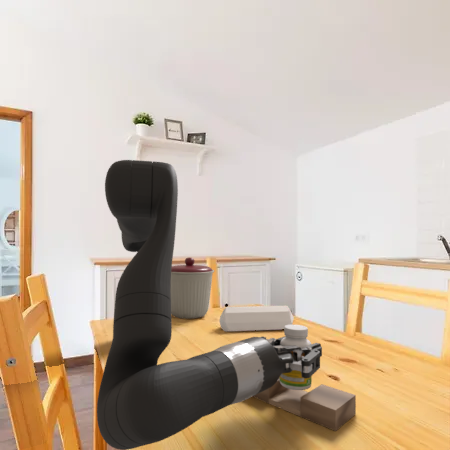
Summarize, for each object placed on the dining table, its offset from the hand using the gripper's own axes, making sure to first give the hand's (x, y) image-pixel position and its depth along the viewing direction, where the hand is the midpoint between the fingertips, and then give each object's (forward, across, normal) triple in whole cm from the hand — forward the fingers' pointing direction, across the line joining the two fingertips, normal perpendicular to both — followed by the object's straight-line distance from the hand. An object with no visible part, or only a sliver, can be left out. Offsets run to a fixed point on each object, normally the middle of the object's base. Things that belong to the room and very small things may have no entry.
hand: (303, 345), depth 61 cm
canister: (+28, +64, +9) cm, 70 cm away
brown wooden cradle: (-2, 0, +9) cm, 9 cm away
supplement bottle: (-3, 0, +6) cm, 7 cm away
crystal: (+32, +36, +9) cm, 49 cm away
